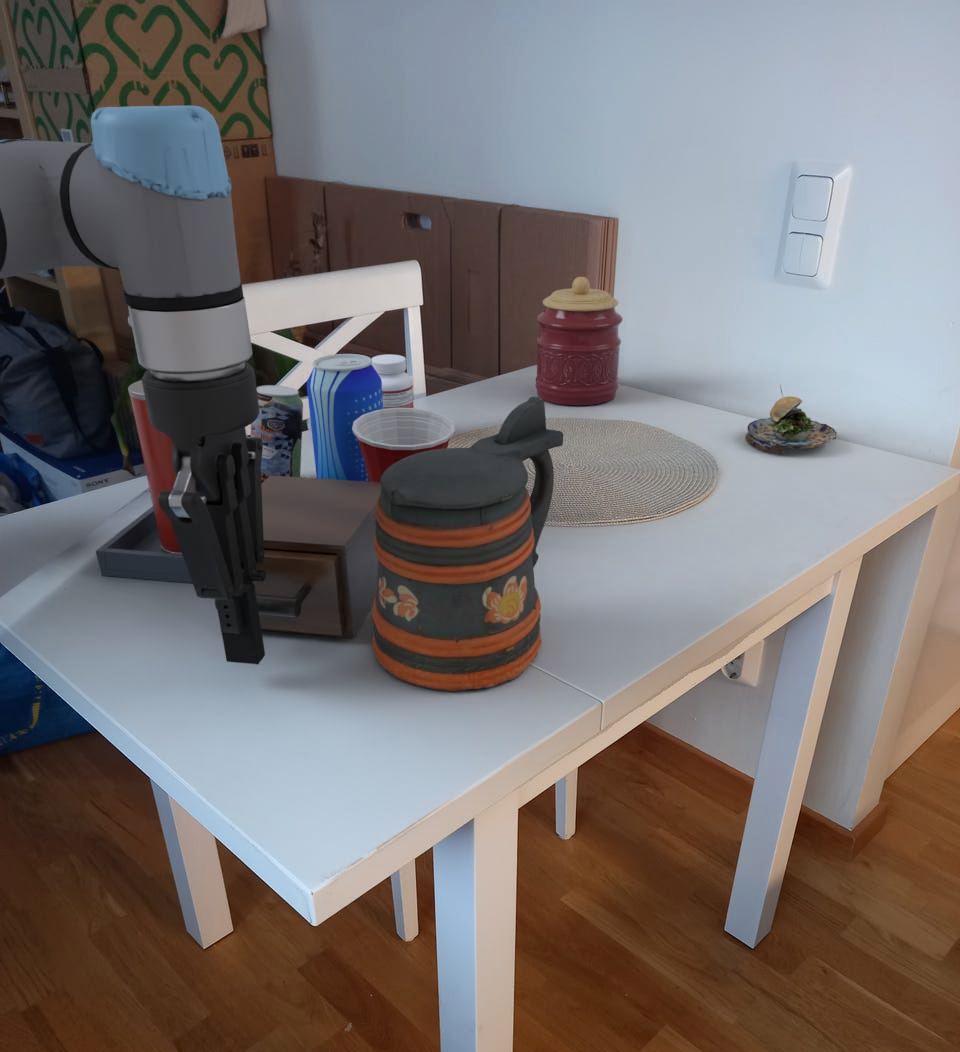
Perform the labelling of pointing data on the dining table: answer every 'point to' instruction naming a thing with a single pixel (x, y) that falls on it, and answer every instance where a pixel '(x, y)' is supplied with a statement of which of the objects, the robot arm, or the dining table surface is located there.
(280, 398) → the beverage can
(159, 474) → the tin
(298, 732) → the dining table surface
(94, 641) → the dining table surface
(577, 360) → the kitchen canister
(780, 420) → the burger
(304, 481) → the cabinet
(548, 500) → the beer stein
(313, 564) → the drawer
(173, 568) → the tray
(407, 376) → the pill bottle
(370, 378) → the beer can
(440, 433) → the plastic cup
